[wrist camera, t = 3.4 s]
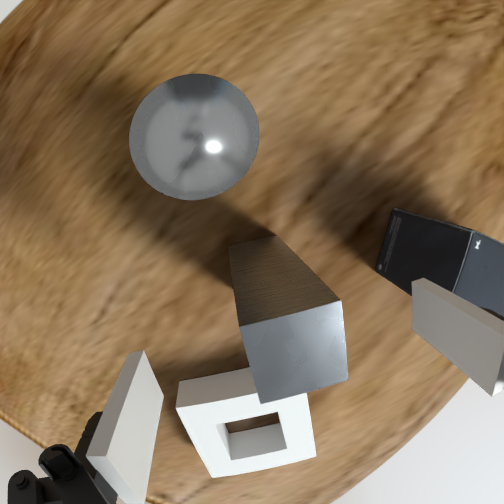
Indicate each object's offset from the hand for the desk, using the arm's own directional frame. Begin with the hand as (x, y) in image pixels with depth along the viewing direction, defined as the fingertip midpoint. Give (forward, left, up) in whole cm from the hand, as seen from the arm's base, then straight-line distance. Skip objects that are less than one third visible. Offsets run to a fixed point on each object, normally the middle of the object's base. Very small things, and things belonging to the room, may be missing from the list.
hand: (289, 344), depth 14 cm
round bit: (-9, -2, -12) cm, 16 cm away
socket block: (+15, -4, -12) cm, 20 cm away
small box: (+3, +16, -13) cm, 21 cm away
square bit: (0, 0, -12) cm, 12 cm away
